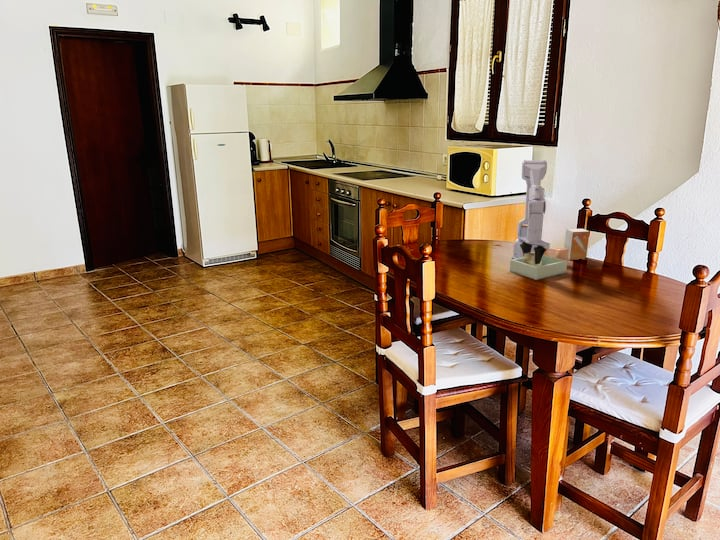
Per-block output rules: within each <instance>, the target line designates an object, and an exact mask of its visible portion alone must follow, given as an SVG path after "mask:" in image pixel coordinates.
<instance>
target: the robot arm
mask: <svg viewBox="0 0 720 540" xmlns="http://www.w3.org/2000/svg"><path fill="white" fill-rule="evenodd" d="M521 164H522V165H521V179H522V180H523V181H525V184H526V193H525V194H526V195H525V208H524V209H525V210H524V211H525V212H524V218H522V219H521V220H519V221H518V223H517V228H516V237H517V238H516V240H515V241H514V242H513V250H512V251H513V252H512V253H513V254H512V256H511V259H517V258H522V257H524V253H530V252H535V264H540V261H541V259H542V256H543V255H545V253H546V251H547V250H548V249H550V247H551V244H550V243H549V242H546V241H545V240H542V235H543V227H544V226H543V225H544V216H545V214H546V210H547V202H546V198H545V197H544V194H545V193H544V188H543V187H542V186H541V181H542V180H544V178H545V177H546V174H547V170H548V162H547V159H546V160H535V159H534V160H533V159H532V160H528V159H527V160H526V159H524V160H523V161H522V163H521Z"/></svg>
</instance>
